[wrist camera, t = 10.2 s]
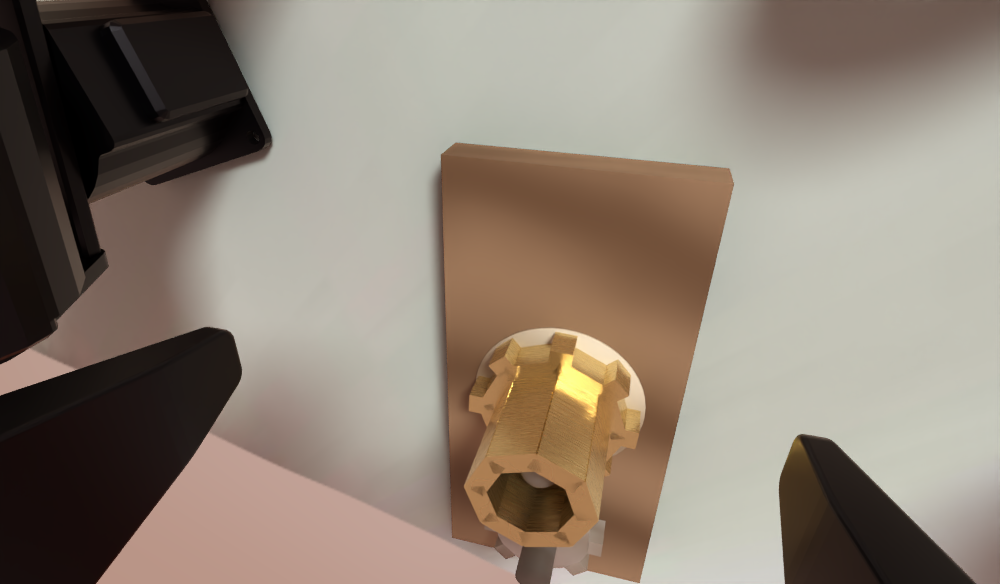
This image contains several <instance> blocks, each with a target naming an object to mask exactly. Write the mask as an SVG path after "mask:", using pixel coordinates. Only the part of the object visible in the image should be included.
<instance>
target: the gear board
mask: <svg viewBox="0 0 1000 584" xmlns="http://www.w3.org/2000/svg"><path fill="white" fill-rule="evenodd" d="M441 172H442V206H443V241H444V275H445V309H446V343H447V377H448V412H449V446H450V480H451V514H452V538H456V539H460V540H464V541H468V542H473V543H477V544H481V545H485V546H489V547H493V548H495V549H496V550H497V551H498V552H499V553H500V554H501V555H502V556H503V557H504V558H505V559H508V558H510V557H513V556H515V555H516V556H517V557H519V562H518V566H517V570H516V574H515V576H516V579H517V581H518V582H519V583H520V584H550V580H551V575H552V569H553V568H563V567H564V568H566V569H567V570H568V571H569V572H570V573H571V574H572V575H576V574H579V573H582V572H585V571H587V570H588V571H592V572H596V573H600V574H604V575H608V576H612V577H616V578H621V579H625V580H629V581H633V582H637V583H640V578H641V574H642V570H643V566H644V561H645V557H646V553H647V549H648V545H649V540H650V536H651V532H652V528H653V523H654V519H655V515H656V511H657V507H658V502H659V498H660V494H661V490H662V486H663V481H664V477H665V473H666V469H667V464H668V460H669V456H670V452H671V448H672V443H673V439H674V435H675V431H676V426H677V422H678V418H679V414H680V410H681V405H682V401H683V397H684V393H685V388H686V384H687V380H688V376H689V372H690V367H691V363H692V359H693V355H694V351H695V346H696V342H697V338H698V334H699V329H700V325H701V321H702V317H703V313H704V308H705V304H706V300H707V296H708V291H709V287H710V283H711V279H712V275H713V270H714V266H715V262H716V258H717V253H718V249H719V245H720V241H721V237H722V232H723V228H724V224H725V220H726V216H727V211H728V207H729V203H730V199H731V194H732V190H733V186H734V182H733V179H732V176H731V172H730V169H729V168H718V167H707V166H697V165H686V164H676V163H665V162H654V161H644V160H633V159H623V158H612V157H601V156H591V155H580V154H570V153H559V152H548V151H538V150H527V149H517V148H506V147H495V146H485V145H474V144H464V143H455V144H453V145H452V146H451V147H450V148H449V149H447V150H446V151H445V152H444V153H442V154H441ZM555 332H560V333H565V334H570V335H575V336H578V337H577V343H576V348H578V349H579V350H581V351H583V352H585V353H586V354H588V355H590V356H592V357H593V358H595V359H597V360H599V361H600V362H602V363H604V364H606V365H608V364H610V363H612V362H614V361H616V360H619V361H620V362H621V363H622V365H623V366H624V367H625V368H626V369H627V371H628V372H629V373H630V374H631V381H630V392H629V396H628V397H626V398H625V402H626V406H627V408H629V409H633V410H638V411H641V415H640V431H639V437H638V440H637V444H636V448H635V449H631V448H627V447H622V446H621V447H620V448H619V449H618V450H617V451H616V452H615V453H614V454H613V456H612V465H611V474H610V475H609V476H606V477H604V482H603V490H602V498H601V506H600V514H599V521H598V522H597V523H596V524H595V525H594V526H593V527H592V528H591V529H590V530H589V531H588V532H587V533H586V534H585V535H584V536H583V537H582V538H581V539H580V540H579V541H578V542H577V543H576V544H575V545H574V546H571V547H524V546H521V545H519V544H517V543H516V542H514V541H512V540H510V539H508V538H507V537H505V536H503V535H501V534H500V533H498V532H496V531H494V530H492V529H491V528H489V527H487V526H485V525H484V524H482V523H481V522H480V521H479V519H478V517H477V514H476V512H475V510H474V508H473V506H472V504H471V501H470V499H469V497H468V495H467V493H466V490H465V488H464V484H465V482H466V479H467V477H468V474H469V472H470V469H471V467H472V464H473V462H474V459H475V457H476V454H477V451H478V449H479V446H480V444H481V441H482V439H483V436H484V434H485V431H486V429H487V426H486V424H485V422H484V419H483V417H482V414H480V413H475V412H471V411H469V396H470V393H471V391H472V389H473V386H474V384H475V382H476V380H477V378H478V376H483V377H487V378H491V377H492V376H493V374H494V371H493V370H492V369H491V368H490V367H489V366H488V365H489V363H490V361H491V359H492V357H493V354H494V352H495V350H496V348H497V347H498V346H499V345H501V344H503V343H504V342H506V341H508V340H510V339H511V338H513V339H514V340H515V341H516V342H517V343H518V345H519V346H520V347H528V346H535V345H543V344H550V343H552V342H553V339H554V335H555ZM521 474H522V476H523V478H524V480H525V481H526V482H527V483H528V484H529V485H531V486H533V487H536V488H547V487H549V486H551V485H553V484H554V483H553V482H551V481H550V480H548V479H546V478H544V477H543V476H541V475H539V474H537V473H535V472H521Z"/></svg>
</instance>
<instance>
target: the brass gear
mask: <svg viewBox="0 0 1000 584" xmlns="http://www.w3.org/2000/svg"><path fill="white" fill-rule="evenodd" d="M577 337H578V336H575V335H570V334H565V333H560V332H555V335H554V339H553V342H552V343H550V344H543V345H535V346H528V347H520V346H519V345H518V343H517V342H516V341H515V340H514V339H513V338H511V339H510V340H508V341H506V342H504V343H503V344H501V345H499V346H498V347H497V348H496V350H495V352H494V354H493V357H492V359H491V361H490V363H489V365H488V366H489V367H490V368H491V369H492V370H493V371H494V374H493V376H492V377H491V378H487V377H483V376H478V378H477V380H476V382H475V384H474V386H473V389H472V391H471V393H470V396H469V411H471V412H475V413H480V414H482V417H483V419H484V422H485V424H486V426H487V429H486V431H485V434H484V436H483V439H482V441H481V444H480V446H479V449H478V451H477V454H476V457H475V459H474V462H473V464H472V467H471V469H470V472H469V474H468V477H467V479H466V482H465V484H464V488H465V490H466V493H467V495H468V497H469V499H470V501H471V504H472V506H473V508H474V510H475V512H476V514H477V517H478V519H479V521H480V522H481V523H482V524H484V525H485V526H487V527H489V528H491V529H492V530H494V531H496V532H498V533H500V534H501V535H503V536H505V537H507V538H508V539H510V540H512V541H514V542H516V543H517V544H519V545H521V546H524V547H571V546H574V545H575V544H576V543H577V542H578V541H579V540H580V539H581V538H582V537H583V536H584V535H585V534H586V533H587V532H588V531H589V530H590V529H591V528H592V527H593V526H594V525H595V524H596V523H597V522H598V521H599V514H600V506H601V498H602V490H603V482H604V477H606V476H609V475H610V474H611V465H612V456H613V454H614V453H615V452H616V451H617V450H618V449H619V448H620V447H621V446H622V447H627V448H631V449H635V448H636V444H637V440H638V437H639V431H640V415H641V411H638V410H633V409H629V408H627V406H626V402H625V398H626V397H628V396H629V392H630V381H631V374H630V373H629V372H628V371H627V369H626V368H625V367H624V366H623V365H622V363H621V362H620V361H619V360H616V361H614V362H612V363H610V364H608V365H606V364H604V363H602V362H600V361H599V360H597V359H595V358H593V357H592V356H590V355H588V354H586V353H585V352H583V351H581V350H579V349H578V348H576V343H577ZM521 472H535V473H537V474H539V475H541V476H543V477H544V478H546V479H548V480H550V481H551V482H553V483H554V484H553V485H551V486H549V487H547V488H536V487H533V486H531V485H529V484H528V483H527V482H526V481H525V480H524V478H523V476H522V474H521Z"/></svg>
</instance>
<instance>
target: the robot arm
mask: <svg viewBox="0 0 1000 584" xmlns="http://www.w3.org/2000/svg"><path fill="white" fill-rule="evenodd" d="M253 132H256V133H257V135H258V136H259V141H258V140H256V138H255V137H254V134H253ZM270 143H271V134H270V131H269V129H268V127H267V124H266V122H265V120H264V118H263V116H262V114H261V112H260V110H259V108H258V106H257V104H256V102H255V100H254V98H253V95H252V93H251V91H250V89H249V87H248V85H247V83H246V81H245V79H244V77H243V75H242V73H241V71H240V68H239V66H238V64H237V62H236V60H235V58H234V56H233V54H232V52H231V50H230V48H229V46H228V44H227V42H226V39H225V37H224V35H223V33H222V31H221V29H220V27H219V25H218V23H217V21H216V19H215V17H214V15H213V13H212V11H211V8H210V6H209V4H208V2H207V0H55V1H36V0H0V364H2V363H4V362H7V361H9V360H11V359H12V358H14V357H16V356H17V355H19V354H21V353H22V352H24V351H25V350H27V349H29V348H31V347H32V346H34V345H36V344H38V343H39V342H41V341H43V340H45V339H46V338H48V337H49V336H50V335H51V334H52V333H53V332H54V331H56V330H57V328H58V324H57V320H58V319H59V318H60V317H61V316H62V314H63V313H64V312H65V311H66V310H67V309H68V308H69V307H70V306H71V305H72V304H73V303H74V302H75V301H76V300H77V299H78V298H79V297H80V296H81V295H82V294H83V293H84V292H85V291H86V290H87V289H88V287H89V286H90V285H91V284H92V283H93V282H94V281H95V280H96V279H97V278H98V277H99V276H100V275H101V274H102V273H103V272H104V271H105V270H106V269H107V268H108V266H109V265H108V261H107V258H106V254H105V251H104V250H103V249H101V248H100V245H99V241H98V237H97V233H96V229H95V225H94V222H93V218H92V214H91V210H90V206H89V204H90V203H92V202H95V201H97V200H100V199H102V198H104V197H107V196H109V195H112V194H114V193H117V192H119V191H122V190H124V189H127V188H129V187H131V186H134V185H136V184H139V183H141V182H144V181H145V182H146V183H148V184H150V185H157V184H160V183H163V182H166V181H169V180H172V179H175V178H178V177H181V176H184V175H187V174H190V173H193V172H196V171H199V170H202V169H205V168H208V167H211V166H214V165H217V164H220V163H223V162H227V161H230V160H233V159H236V158H239V157H242V156H245V155H248V154H251V153H254V152H257V151H260V150H262V149H264V148H266V147H268V146H269V145H270ZM241 375H242V367H241V363H240V359H239V355H238V351H237V347H236V343H235V339H234V337H233V335H232V334H231V332H229V331H227V330H224V329H219V328H213V327H204V328H201V329H198V330H195V331H192V332H189V333H186V334H183V335H180V336H177V337H174V338H171V339H168V340H165V341H162V342H159V343H156V344H153V345H150V346H147V347H144V348H141V349H138V350H135V351H132V352H129V353H126V354H123V355H120V356H117V357H114V358H111V359H108V360H105V361H102V362H99V363H96V364H93V365H90V366H87V367H84V368H81V369H78V370H75V371H72V372H69V373H66V374H63V375H60V376H57V377H54V378H52V379H48V380H46V381H42V382H39V383H36V384H33V385H31V386H27V387H24V388H21V389H18V390H16V391H12V392H10V393H6V394H4V395H1V396H0V584H96V583H97V582H98V580H99V579H100V578H101V576H102V575H103V574H104V572H105V571H106V570H107V569H108V567H109V566H110V565H111V563H112V562H113V561H114V559H115V558H116V557H117V556H118V554H119V553H120V552H121V550H122V549H123V548H124V546H125V545H126V544H127V542H128V541H129V540H130V539H131V537H132V536H133V535H134V533H135V532H136V531H137V529H138V528H139V527H140V525H141V524H142V523H143V521H144V520H145V519H146V517H147V516H148V515H149V514H150V512H151V511H152V510H153V508H154V507H155V506H156V505H157V503H158V502H159V501H160V499H161V498H162V497H163V495H164V494H165V493H166V491H167V490H168V489H169V487H170V486H171V485H172V483H173V482H174V481H175V480H176V478H177V477H178V476H179V474H180V473H181V472H182V470H183V469H184V468H185V466H186V465H187V464H188V462H189V461H190V460H191V458H192V457H193V455H194V454H195V452H196V451H197V449H198V448H199V446H200V445H201V443H202V442H203V440H204V438H205V437H206V435H207V434H208V432H209V430H210V429H211V427H212V426H213V424H214V422H215V421H216V419H217V417H218V416H219V414H220V413H221V411H222V409H223V408H224V406H225V405H226V403H227V401H228V400H229V398H230V397H231V395H232V393H233V392H234V390H235V389H236V387H237V385H238V384H239V382H240V379H241ZM779 501H780V516H781V531H782V546H783V562H784V577H785V584H976V583H975V582H974V581H973V580H972V579H971V578H970V577H969V576H968V575H967V574H966V573H965V572H964V571H963V570H962V569H961V568H960V567H959V566H958V565H957V564H956V563H955V562H954V561H953V560H952V559H951V558H950V557H949V556H948V555H947V554H946V553H945V552H944V551H943V550H942V549H941V548H940V547H939V546H938V545H937V544H936V543H935V542H934V541H933V540H932V539H931V538H930V537H929V536H928V535H927V534H926V533H925V532H924V531H923V530H922V529H921V528H920V527H919V526H918V525H917V524H916V523H915V522H914V521H913V520H912V519H911V518H910V517H909V516H908V515H907V514H906V513H905V512H904V511H903V510H902V509H901V508H900V507H899V506H898V505H897V504H896V503H895V502H894V501H893V500H892V499H891V498H890V497H889V496H888V495H887V494H886V493H885V492H884V491H883V490H882V489H881V488H880V487H879V486H878V485H877V484H876V483H875V482H874V481H873V480H872V479H871V478H870V477H869V476H868V475H867V474H866V473H865V472H864V471H863V470H862V469H861V468H860V467H859V466H858V465H857V464H856V463H855V462H854V461H853V460H852V459H851V458H850V457H849V456H848V455H847V454H846V453H845V452H844V451H843V450H842V449H841V448H840V447H839V446H838V445H837V444H836V443H834V442H833V441H832V440H830V439H828V438H823V437H817V436H812V435H806V434H801V435H798V436H797V437H796V438H795V440H794V442H793V444H792V447H791V449H790V452H789V455H788V457H787V460H786V462H785V465H784V468H783V470H782V473H781V476H780V482H779Z"/></svg>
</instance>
